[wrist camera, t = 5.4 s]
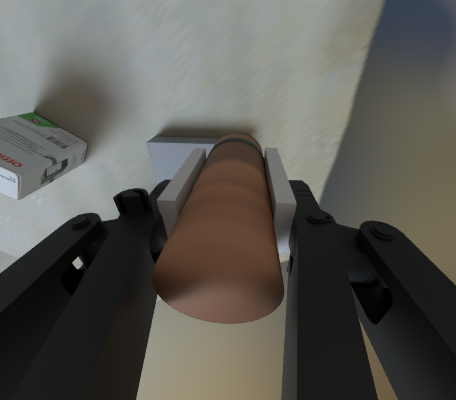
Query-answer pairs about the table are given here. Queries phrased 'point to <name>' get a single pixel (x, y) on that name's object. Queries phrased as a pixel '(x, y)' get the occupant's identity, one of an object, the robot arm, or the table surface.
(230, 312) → the peg
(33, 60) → the table surface
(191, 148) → the board
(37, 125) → the ink box
